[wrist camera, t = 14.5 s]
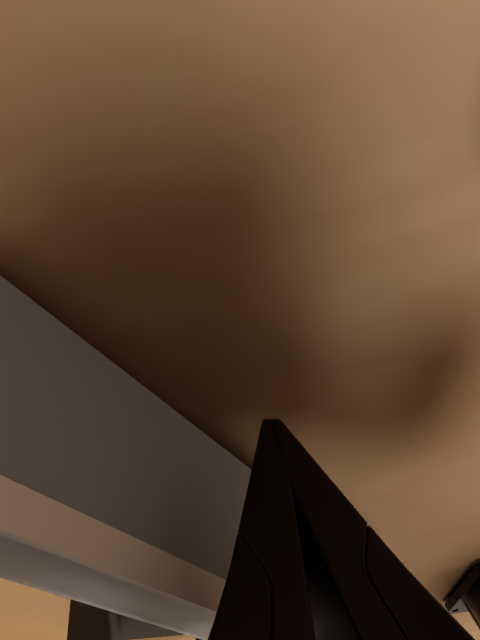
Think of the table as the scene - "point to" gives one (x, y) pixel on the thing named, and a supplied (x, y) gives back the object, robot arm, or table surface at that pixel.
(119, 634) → the phone stand
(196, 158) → the table surface
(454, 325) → the table surface
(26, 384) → the grey flat bar
